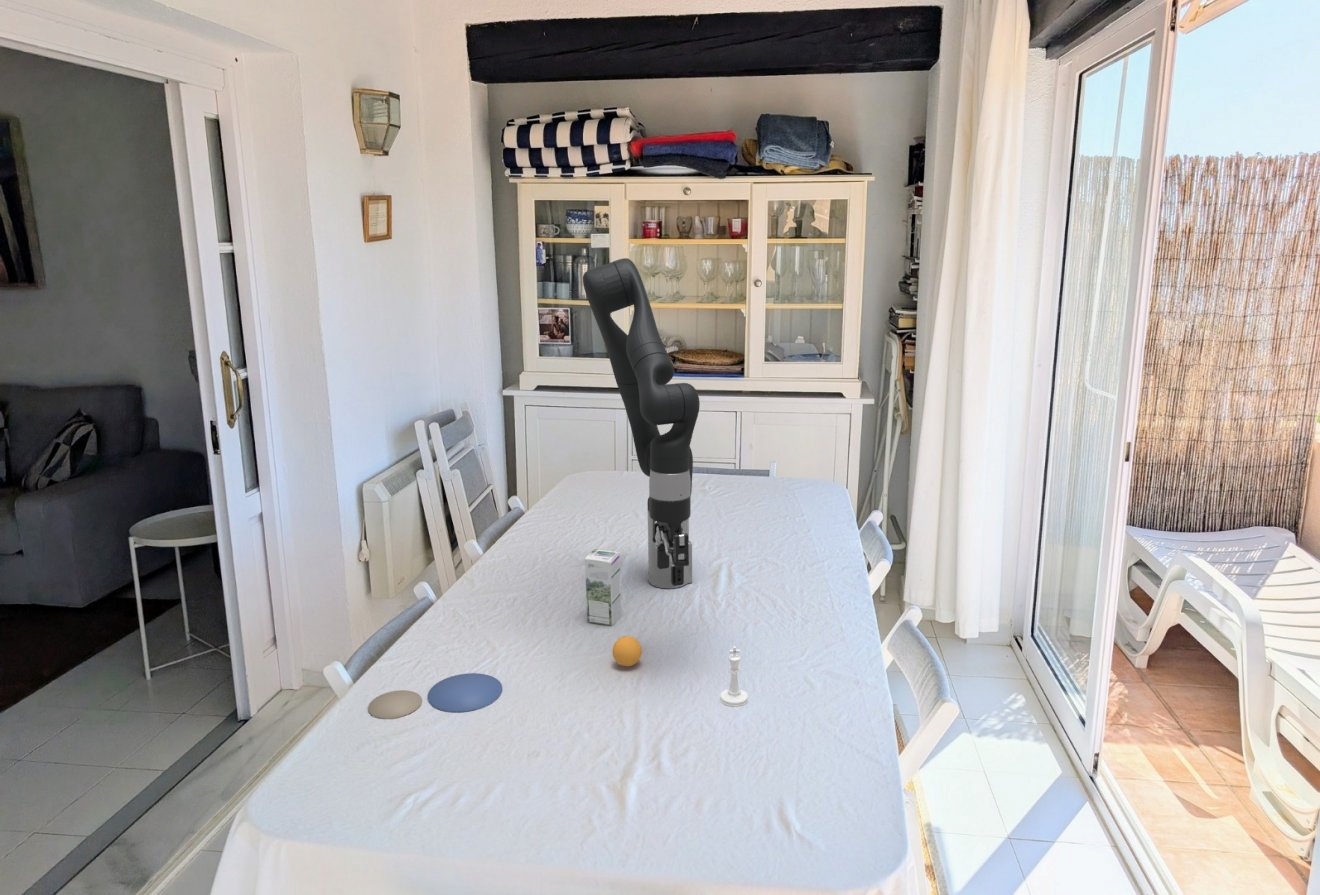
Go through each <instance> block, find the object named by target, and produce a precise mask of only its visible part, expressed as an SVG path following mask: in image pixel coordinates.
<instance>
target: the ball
mask: <svg viewBox="0 0 1320 895" xmlns="http://www.w3.org/2000/svg"><path fill="white" fill-rule="evenodd" d="M642 651H643V650H642V645H641V643H640V641H638V640H637V639H636V638H635V637H633V636H630V635H625V636H622V637H619V638H618V639H617V640H616V641H615V642H614V644H613V645H612V651H611V652H612V657H613V659H614V660H615V662H616V663H617V664H618V665H620V666H622V667H630V666H635V664H636V663H637V664H638V662H639V661H640V659H641V658H642V654H643V652H642Z"/></svg>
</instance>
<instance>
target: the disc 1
mask: <svg viewBox="0 0 1320 895" xmlns="http://www.w3.org/2000/svg"><path fill="white" fill-rule="evenodd" d="M422 703H423V698H422V696H421V695H420V694H419V693H417V692H415V691H412V690H407V689H405V690H403V689H401V690H392V691H389V692H388V691H387V692H384V693H382V694H380V695H378V696H376V697H375V698H373V699H372V700H371V701H370V702H369V703H368V706H367V711H368V713H369V715H371V716H372V717H374V718H377V719H381V720H382V719H383V720H393V719H395V720H396V719H399V718H400V719H401V718H403V717H404V718H405V717H406V716H408V715H411V714H412V713H414V712H416V711H417V710H419V708H420V707H421V705H422Z"/></svg>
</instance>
